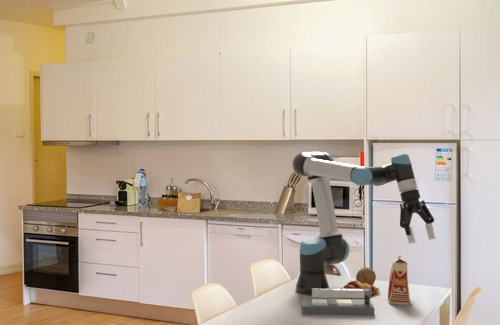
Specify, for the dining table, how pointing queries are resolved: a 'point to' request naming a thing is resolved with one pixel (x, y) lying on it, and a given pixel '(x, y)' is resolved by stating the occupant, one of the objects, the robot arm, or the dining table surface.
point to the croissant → (360, 286)
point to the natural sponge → (366, 276)
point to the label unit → (338, 306)
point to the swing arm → (342, 293)
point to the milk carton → (399, 283)
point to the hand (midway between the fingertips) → (422, 241)
